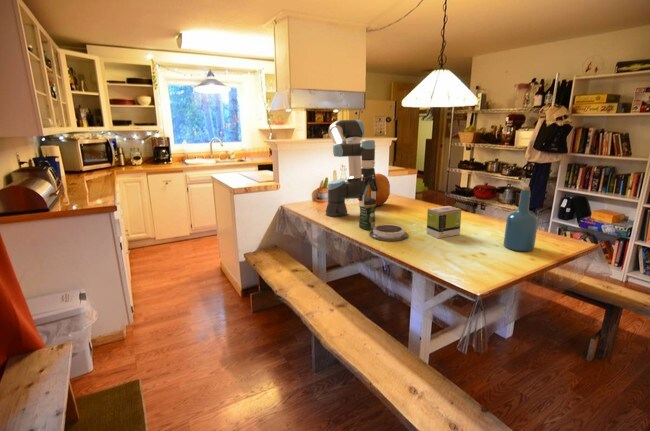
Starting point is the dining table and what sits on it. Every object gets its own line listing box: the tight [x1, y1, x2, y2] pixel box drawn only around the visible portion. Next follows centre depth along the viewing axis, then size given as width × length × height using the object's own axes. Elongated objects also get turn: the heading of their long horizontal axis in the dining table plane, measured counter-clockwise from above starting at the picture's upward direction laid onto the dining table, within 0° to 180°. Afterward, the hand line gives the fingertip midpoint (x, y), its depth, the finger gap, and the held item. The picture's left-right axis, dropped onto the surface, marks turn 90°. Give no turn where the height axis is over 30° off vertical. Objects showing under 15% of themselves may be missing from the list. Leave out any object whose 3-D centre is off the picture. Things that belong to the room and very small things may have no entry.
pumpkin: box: [357, 173, 391, 207], centre depth 254 cm, size 26×23×30 cm
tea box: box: [426, 205, 462, 239], centre depth 184 cm, size 15×10×15 cm, turn 111°
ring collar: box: [368, 223, 409, 242], centre depth 186 cm, size 21×21×4 cm
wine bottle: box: [503, 185, 539, 252], centre depth 160 cm, size 14×13×30 cm
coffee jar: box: [358, 197, 377, 230], centre depth 198 cm, size 10×8×19 cm
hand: (367, 204), depth 197 cm, fingers open, 13 cm apart
